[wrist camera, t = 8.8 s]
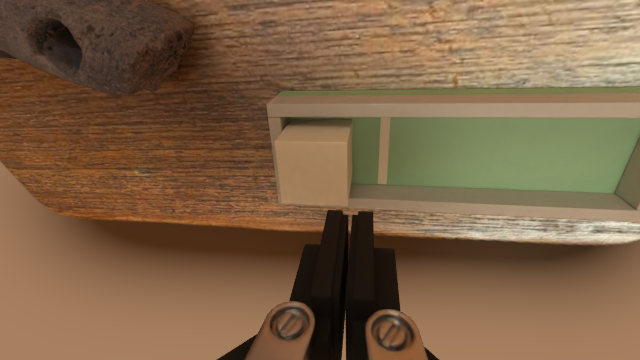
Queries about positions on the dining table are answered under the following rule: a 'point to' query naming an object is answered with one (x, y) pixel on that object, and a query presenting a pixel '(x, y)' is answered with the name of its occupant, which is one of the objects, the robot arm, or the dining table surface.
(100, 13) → the perforated stone tool
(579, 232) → the dining table surface
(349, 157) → the beige cube
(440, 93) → the tray
